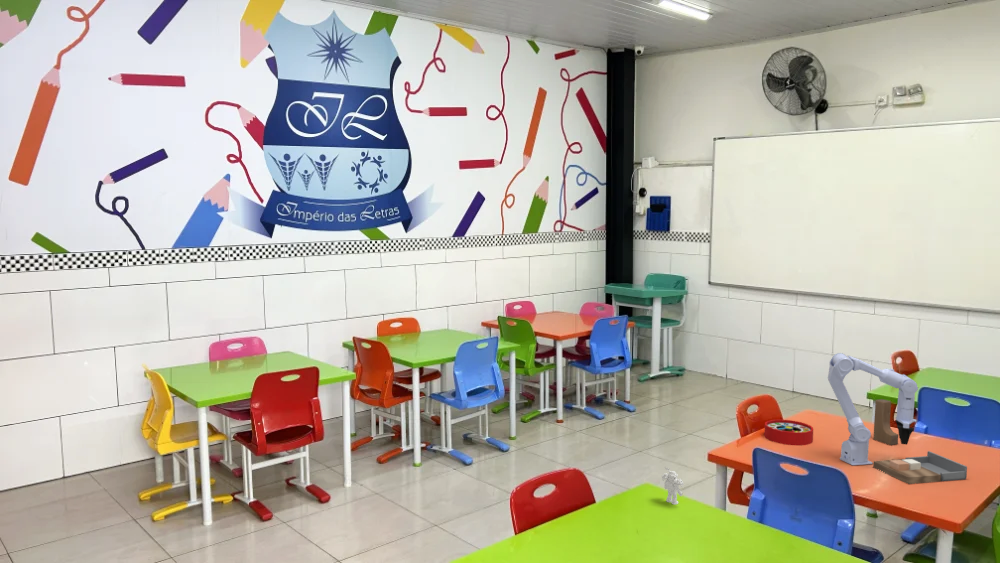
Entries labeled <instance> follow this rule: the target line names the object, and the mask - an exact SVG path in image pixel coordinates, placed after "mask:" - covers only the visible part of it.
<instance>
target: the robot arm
mask: <svg viewBox="0 0 1000 563" xmlns="http://www.w3.org/2000/svg"><path fill="white" fill-rule="evenodd" d="M859 370H861V371H863V372H866V373H868V374H869V375H872V376H876V377H878V378H879V379H878V380H879V381H880V382H881V383H884V384H885V385H888V386H890V387H893V388H894V389H898V395H897V406H896V417H895V423H896V427H897V431H898V439H899V440H900V444H901V445H906V446H907V445H908V443H909V440H910V438H911V435H912V433H913V432H914V430H915V428H914V427H910V426H911V425H912V424H913V423H917V421H918V420H917V419H915V418H914V413H915V399H916V398H915V397H916V396H915V394H916V393H917V391H918V389H919V387H918V383H917V382H916V381H915V380H913V379H912V378H910V377H909V376H907V375H906V374H905V373H903V374H901V373H898V372H897V371H895V369H893V368H891V367H890V368H883V369H881V368H879V367H877V366H874V365H873V364H870V363H869V362H866V361H863V360H862V359H860V358H857V357H854V356H851V355H846V354H845V353H843V352H842V353H841V352H837V353H835V354H834V355H832V358H830V360H829V369H828V375H827V379H828V382H829V385H830V386H831V389H832V391H833V393H834V395H835V398H836V399H837V401H838V404H839V405H840V408H841V410H842V412H843V415H844V416H845V419H846V422H847V424H848V425H847V426H848V428H847V430H848V433H849V434H850V435H849V436H848V439H847V440H844V441H843V442H842V443H841V450H840V451H841V452H840V457H839V459H840V460H841V461H843V462H845V463H847V464H849V465H851V466H861V465H863V466H864V465H873V464H874V462H872V461H871V460H869V446H870V442H869V441H870V439H871V437H872V432H871V431H870V429H869V428H868V427H866V426H865V424H864V422H863V420H862V419H861V417H860V415H859V413H858V411H857V409H856V408H857V407H855V405H854V402H853V400H852V398H851V396H850V394H849V392H848V390H847V388H846V386H845V383H844V379H845V378H846V376H848V374H849V373H850V372H851V371H853V372H855V371H859Z"/></svg>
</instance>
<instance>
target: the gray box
mask: <svg viewBox="0 0 1000 563" xmlns="http://www.w3.org/2000/svg"><path fill="white" fill-rule="evenodd" d="M926 454H927V455H924V456H911V457H909V456H908V457H905V458H904V459H913V460H915V461H918V462H920V463H921V467H924V468H926V469H928V470H931V471H933V472H935V473H937V474H940V475H941V481H940V482H950V481H953V482H954V481H961V480H962V481H963V480H967V475H968V466H967V465H964V464H962V463H960V462H957V461H955V460H953V459H949V458H948V457H945V456H942V455H940V454H937V453H935V452H933V451H930V450H927V452H926Z"/></svg>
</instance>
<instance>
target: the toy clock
mask: <svg viewBox="0 0 1000 563" xmlns="http://www.w3.org/2000/svg"><path fill="white" fill-rule="evenodd" d="M763 433H764V434H763V435H764V437H765V439H766V440H768V441H770V442H773V443H776V444H780V445H788V446H806V445H807V446H808V445H811V444H812V443H814V427H813V426H812V425H810V424H807V423H805V422H801V421H796V420H790V419H771V420H767V421H765V422H764V432H763Z"/></svg>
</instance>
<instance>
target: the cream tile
mask: <svg viewBox="0 0 1000 563" xmlns="http://www.w3.org/2000/svg"><path fill="white" fill-rule="evenodd" d="M903 459H904V460H902V461H904V462H906V463H908V464H909V470H917V469H920V468H921V463H920V462H918V461H915V460H913V459H905V458H903Z"/></svg>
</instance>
